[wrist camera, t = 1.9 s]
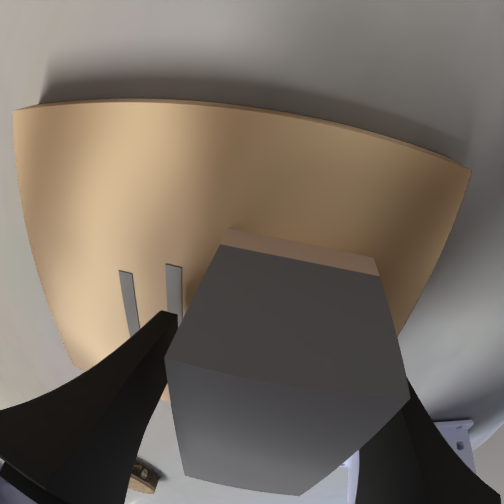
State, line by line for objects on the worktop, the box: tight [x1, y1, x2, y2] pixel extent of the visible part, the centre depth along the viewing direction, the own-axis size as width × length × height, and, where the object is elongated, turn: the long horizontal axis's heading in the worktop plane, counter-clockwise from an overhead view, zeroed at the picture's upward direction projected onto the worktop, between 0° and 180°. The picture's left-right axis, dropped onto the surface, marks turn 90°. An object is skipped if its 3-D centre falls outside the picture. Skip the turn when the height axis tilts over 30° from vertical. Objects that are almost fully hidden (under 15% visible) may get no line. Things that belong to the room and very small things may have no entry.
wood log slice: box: [128, 460, 159, 494], centre depth 32 cm, size 16×16×3 cm
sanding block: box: [164, 228, 410, 496], centre depth 9 cm, size 4×8×5 cm, turn 172°
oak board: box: [13, 99, 472, 402], centre depth 12 cm, size 16×15×2 cm
